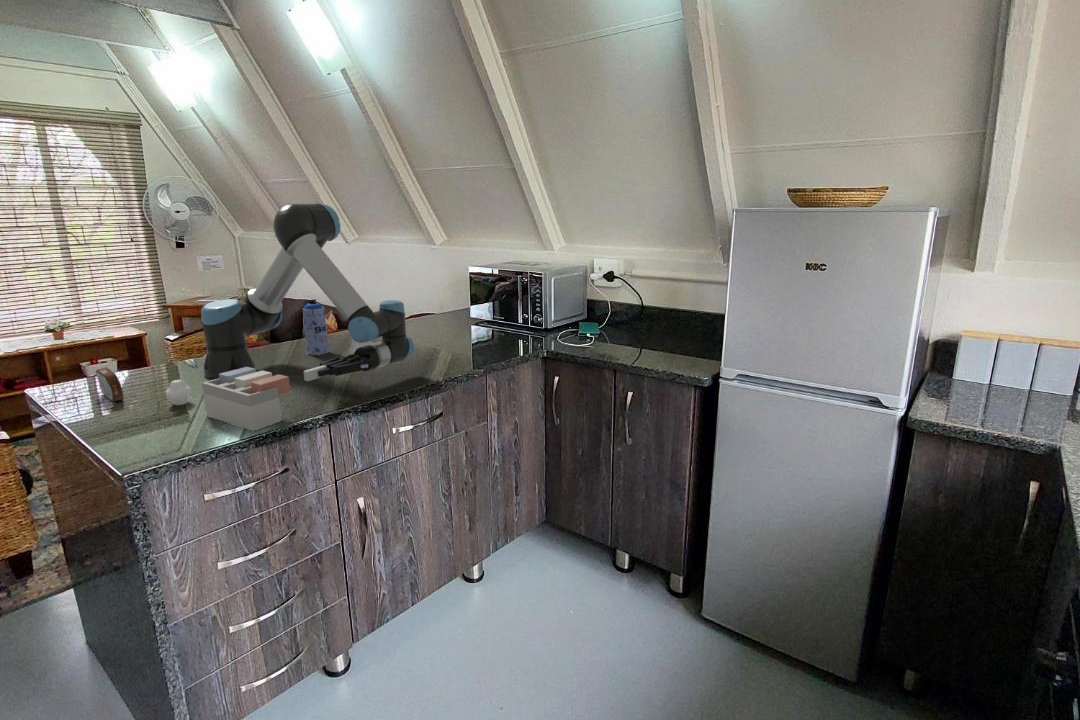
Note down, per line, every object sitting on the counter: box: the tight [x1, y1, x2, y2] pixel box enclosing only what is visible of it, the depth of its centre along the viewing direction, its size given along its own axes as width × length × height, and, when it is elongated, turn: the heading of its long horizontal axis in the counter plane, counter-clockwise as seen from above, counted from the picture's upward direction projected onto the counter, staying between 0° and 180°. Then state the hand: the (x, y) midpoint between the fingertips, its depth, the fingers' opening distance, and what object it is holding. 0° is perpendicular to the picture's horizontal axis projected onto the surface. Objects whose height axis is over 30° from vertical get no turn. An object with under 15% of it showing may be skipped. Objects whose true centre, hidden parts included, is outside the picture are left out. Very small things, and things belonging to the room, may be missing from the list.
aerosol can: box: [302, 298, 330, 356], centre depth 215 cm, size 8×8×20 cm
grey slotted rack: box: [201, 378, 282, 432], centre depth 152 cm, size 20×8×9 cm, turn 59°
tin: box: [95, 367, 124, 403], centre depth 168 cm, size 15×3×8 cm, turn 48°
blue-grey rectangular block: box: [219, 367, 257, 384], centre depth 157 cm, size 4×8×4 cm, turn 149°
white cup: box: [350, 337, 374, 354], centre depth 216 cm, size 8×8×10 cm
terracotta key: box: [251, 374, 291, 396], centre depth 150 cm, size 4×8×4 cm, turn 149°
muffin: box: [165, 379, 192, 406], centre depth 164 cm, size 6×6×7 cm
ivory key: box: [234, 370, 273, 389], centre depth 154 cm, size 4×8×4 cm, turn 149°
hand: (305, 376), depth 159 cm, fingers closed
